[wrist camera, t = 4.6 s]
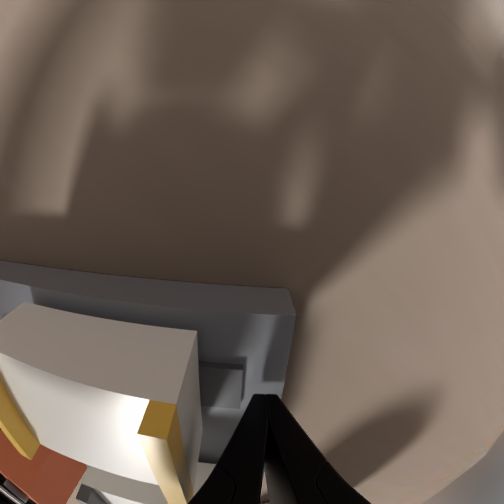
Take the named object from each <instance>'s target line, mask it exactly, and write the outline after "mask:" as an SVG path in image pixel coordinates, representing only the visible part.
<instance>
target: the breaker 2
mask: <svg viewBox="0 0 504 504" xmlns="http://www.w3.org/2000/svg"><path fill="white" fill-rule="evenodd" d="M215 465H216V464H210V463H201V462H198V465H197V472H196V479H195V487H194V494H193V496H194V495H195V494H196V493H197V492H198V490H199V489H200V488H201V487H202V485H203V484H204V483H205V481H206V480H207V478H208V477H209V475H210V474H211V472H212V470H213V469H214V467H215ZM76 499H77V500H78V501H79V502H80V503H81V504H168V502H167V500H166V498H165V496H164V494H163V492H162V490H161V488H160V486H159V485H156V484H151V483H147V482H142V481H138V480H134V479H131V478H127V477H123V476H120V475H117V474H113V473H110V472H107V471H104V470H101V469H98V468H95V467H92V466H90V465H89V467H88V469H87V472H86V474H85V477H84V479H83V481H82V484H81V486H80V489H79V491H78V494H77V496H76Z"/></svg>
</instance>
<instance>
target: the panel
mask: <svg viewBox="0 0 504 504" xmlns="http://www.w3.org/2000/svg"><path fill="white" fill-rule="evenodd" d="M23 302H28V303H32V304H36V305H40V306H44V307H49V308H53V309H58V310H62V311H67V312H72V313H77V314H82V315H87V316H93V317H98V318H104V319H110V320H116V321H122V322H129V323H135V324H143V325H150V326H158V327H166V328H174V329H184V330H193V331H197V343H198V367H199V385H200V401H201V415H202V427H203V432H202V438H201V445H200V452H199V459H198V462H201V463H210V464H216V463H218V460H219V458H220V456H221V455H222V453H223V451H224V449H225V447H226V446H227V444H228V442H229V440H230V438H231V436H232V434H233V433H234V431H235V429H236V427H237V425H238V423H239V421H240V419H241V417H242V415H243V413H244V411H245V409H246V408H247V406H248V404H249V402H250V400H251V398H252V396H253V394H277V395H278V396H279V398H280V399H281V398H282V393H283V388H284V383H285V378H286V373H287V367H288V362H289V357H290V351H291V345H292V340H293V334H294V328H295V322H296V316H297V315H296V312H295V309H294V306H293V302H292V299H291V296H290V292H289V289H287V288H267V287H250V286H234V285H220V284H206V283H193V282H181V281H169V280H158V279H147V278H137V277H127V276H117V275H108V274H99V273H90V272H82V271H74V270H66V269H58V268H50V267H43V266H36V265H29V264H22V263H15V262H8V261H2V260H0V320H1V319H2V318H3V317H5V316H6V315H7V314H8V313H10V312H11V311H12V310H14V309H15V308H16V307H18V306H19V305H20V304H21V303H23ZM86 466H89V465H87V464H86ZM264 472H265V468H264V471H263V476H264ZM262 480H263V479H262Z"/></svg>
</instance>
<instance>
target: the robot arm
mask: <svg viewBox="0 0 504 504" xmlns="http://www.w3.org/2000/svg"><path fill="white" fill-rule="evenodd" d="M0 430H1V428H0ZM326 461H327V459H326V458H325V457H324V456H323V454H322V453H321V452H320V451H319V449H318V448H317V447H316V446H315V444H314V443H313V442H312V440H311V439H310V438H309V437H308V435H307V434H306V433H305V431H304V430H303V429H302V427H301V426H300V425H299V423H298V422H297V421H296V419H295V418H294V417H293V415H292V414H291V413H290V411H289V410H288V409H287V407H286V406H285V405H284V403H283V402H282V400H281V399H280V398H279V396H278V395H277V394H253V396H252V398H251V400H250V402H249V404H248V406H247V408H246V409H245V411H244V413H243V415H242V417H241V419H240V421H239V423H238V425H237V427H236V429H235V431H234V433H233V434H232V436H231V438H230V440H229V442H228V444H227V446H226V447H225V449H224V451H223V453H222V455H221V456H220V458H219V460H218V463H216V465H215V467H214V469H213V470H212V472H211V474H210V475H209V477H208V478H207V480H206V481H205V483H204V484H203V485H202V487H201V488H200V489H199V490H198V492H197V493H196V494H195V495H194V496H193V498H192V499H191V500H190V501H189V502H188V503H187V504H259V503H260V495H261V487H262V479H263V471H264V468H265V475H266V482H267V488H268V494H269V501H270V504H371V503H370V502H369V501H368V500H366V499H365V498H364V497H363V496H362V495H360V494H359V493H358V492H357V491H356V490H355V489H354V488H352V487H351V486H350V485H349V484H348V483H347V482H346V481H345V480H344V479H343V478H342V477H341V476H340V475H339V474H338V473H337V471H336V470H335V469H334V468H333V467H332V465H331V464H330V463H329V462H328V461H327V462H326ZM6 480H7V479H6V478H5V477H4V476H3V475H2V474H1V473H0V488H1V489H2V490H4V491H5V492H6V493H7V494H9V495H10V496H11V497H13V498H14V499H15V500H17V501H18V502H19V503H21V504H37V503H35V502H34V501H33V500H31V499H30V498H29V499H28V500H27V502H26V503H25V502H23V501H22V500H21V499H20V498H18V497H17V496H16V495H15V494H14V493H12V492H11V491H10V490H9V489H8V488H7V487H6V486H4V485H3V484H4V483H5V481H6ZM0 504H16V503H15V502H13V501H12V500H10V499H9V498H8V497H7V496H5V495H4V494H3V493H2V492H0Z"/></svg>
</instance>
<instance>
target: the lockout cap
mask: <svg viewBox="0 0 504 504" xmlns="http://www.w3.org/2000/svg"><path fill="white" fill-rule="evenodd" d="M86 469H87V466H86V464H84V463H82V462H79V461H77V460H74V459H72V458H69V457H67V456H65V455H62V454H60V453H58V452H56V451H54V450H51V449H49V448H47V447H45V446H43V445H41V444H40V446H39V447H38V449H37V451H36V453H35V454H34V456H33V458H32V460H30V459H28V458H26V457H24V456H23V455H21V454H20V453H19V452H18V450H17V449H16V448H15V447H14V445H13V444H12V443H11V441H10V440H9V439H8V438H7V436H6V435H5V434H4V432H3V431H2V429H1V430H0V473H1V474H2V475H3V476H4V477H5V478H6V479H7V480H6V481H5V483H4V484H3V485H4V486H6V487H7V488H8V489H9V490H10V491H11V492H12V493H14V494H15V495H16V496H17V497H18V498H20V499H21V500H22V501H23V502H25V503H26V502H27V500H28V499H29V498H30V499H31V500H33V501H34V502H35V503H37V504H66V503H67V501H68V499H69V497H70V496H71V494H72V492H73V491H74V489H75V487H76V486H77V484H78V482H79V480H80V479H81V477H82V475H83V474H84V472H85V471H86Z"/></svg>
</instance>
